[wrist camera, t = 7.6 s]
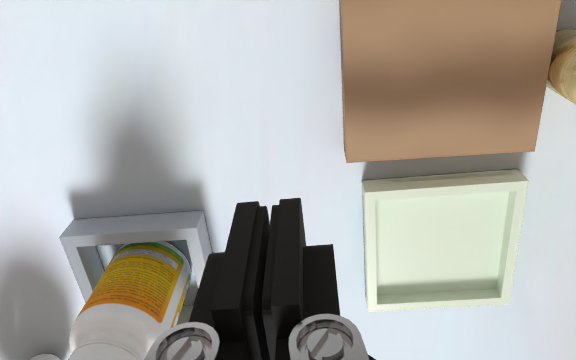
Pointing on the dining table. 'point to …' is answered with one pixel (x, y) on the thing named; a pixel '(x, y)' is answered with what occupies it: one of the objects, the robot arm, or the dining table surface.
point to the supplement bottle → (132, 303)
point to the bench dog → (563, 65)
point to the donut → (45, 357)
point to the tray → (442, 239)
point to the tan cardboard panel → (443, 76)
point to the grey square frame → (133, 229)
